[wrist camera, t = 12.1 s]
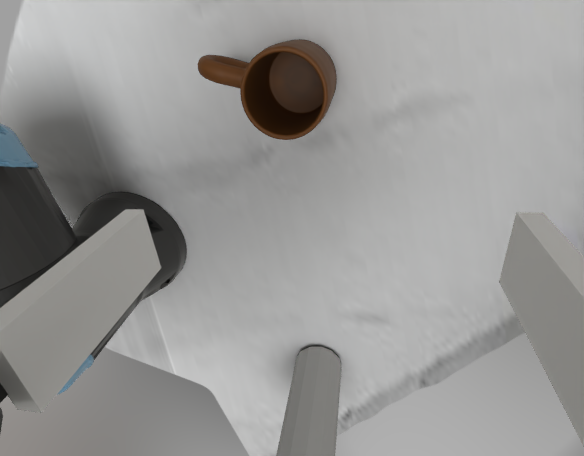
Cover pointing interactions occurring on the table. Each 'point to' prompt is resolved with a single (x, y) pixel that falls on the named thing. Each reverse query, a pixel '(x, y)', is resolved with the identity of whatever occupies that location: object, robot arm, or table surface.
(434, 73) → the table surface
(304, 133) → the mug
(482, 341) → the table surface
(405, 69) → the table surface
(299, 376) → the water bottle
